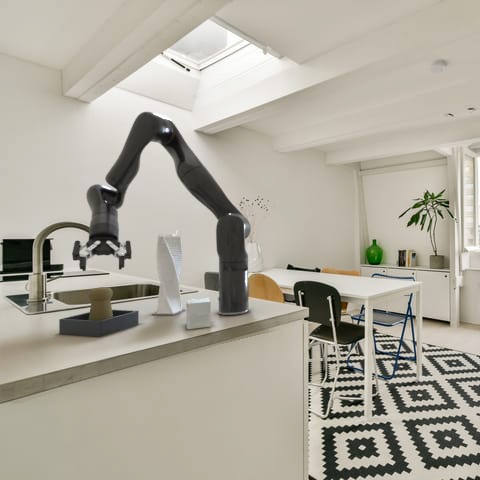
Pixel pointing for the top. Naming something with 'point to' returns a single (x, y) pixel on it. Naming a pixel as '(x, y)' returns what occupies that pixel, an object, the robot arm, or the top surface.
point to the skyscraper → (169, 273)
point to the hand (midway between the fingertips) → (102, 268)
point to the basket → (97, 324)
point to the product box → (198, 313)
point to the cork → (100, 304)
